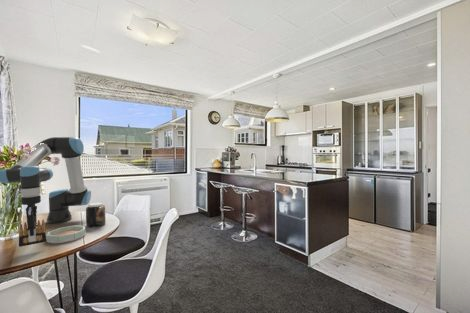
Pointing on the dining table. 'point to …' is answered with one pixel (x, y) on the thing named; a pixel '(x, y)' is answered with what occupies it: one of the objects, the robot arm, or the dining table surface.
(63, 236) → the octagonal tray
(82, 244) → the dining table surface
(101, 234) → the dining table surface
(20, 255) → the dining table surface
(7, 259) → the dining table surface
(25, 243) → the ammunition clip
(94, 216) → the jar
